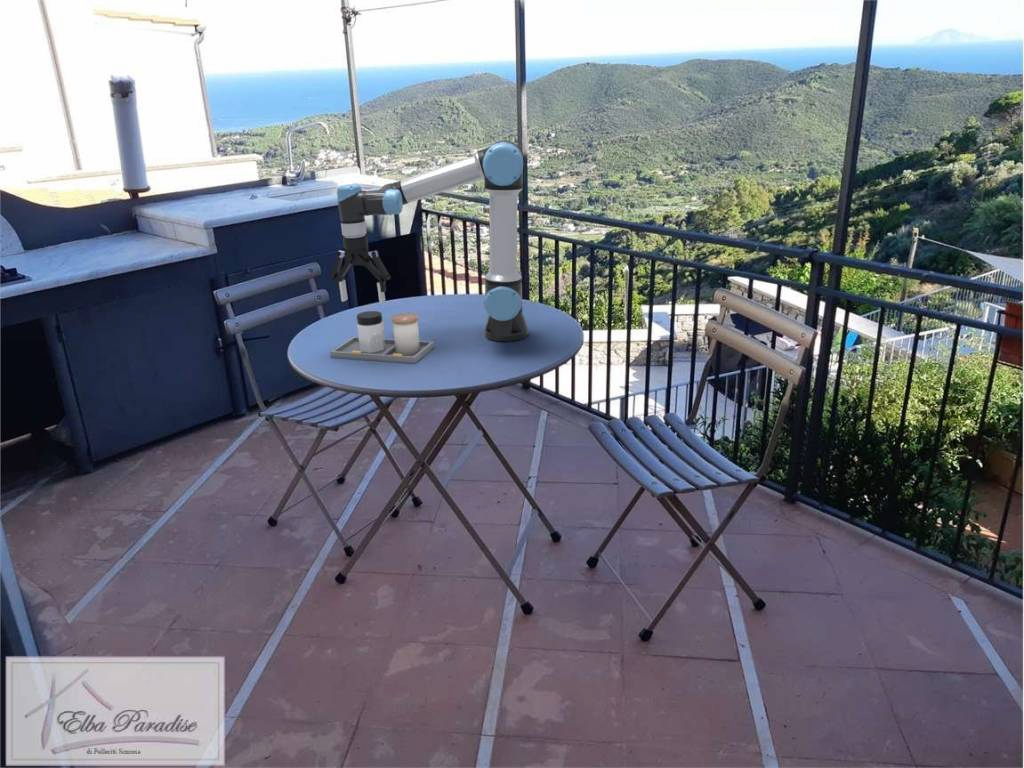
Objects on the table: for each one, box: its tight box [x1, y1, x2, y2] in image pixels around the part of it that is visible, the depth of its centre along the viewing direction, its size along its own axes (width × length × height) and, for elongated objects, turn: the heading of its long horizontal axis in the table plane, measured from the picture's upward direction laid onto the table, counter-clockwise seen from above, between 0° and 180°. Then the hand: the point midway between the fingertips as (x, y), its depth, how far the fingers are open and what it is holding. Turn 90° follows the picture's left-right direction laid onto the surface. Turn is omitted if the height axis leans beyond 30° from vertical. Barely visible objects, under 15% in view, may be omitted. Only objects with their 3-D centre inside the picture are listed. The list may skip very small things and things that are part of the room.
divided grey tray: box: [329, 336, 435, 365], centre depth 246 cm, size 30×16×3 cm, turn 73°
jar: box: [356, 310, 386, 353], centre depth 246 cm, size 9×8×12 cm
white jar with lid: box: [391, 312, 420, 356], centre depth 242 cm, size 8×8×12 cm
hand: (363, 301), depth 242 cm, fingers open, 13 cm apart
